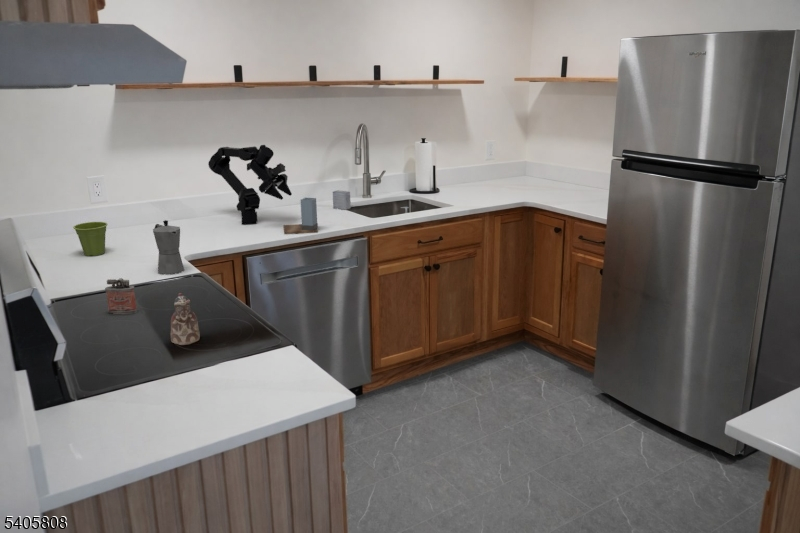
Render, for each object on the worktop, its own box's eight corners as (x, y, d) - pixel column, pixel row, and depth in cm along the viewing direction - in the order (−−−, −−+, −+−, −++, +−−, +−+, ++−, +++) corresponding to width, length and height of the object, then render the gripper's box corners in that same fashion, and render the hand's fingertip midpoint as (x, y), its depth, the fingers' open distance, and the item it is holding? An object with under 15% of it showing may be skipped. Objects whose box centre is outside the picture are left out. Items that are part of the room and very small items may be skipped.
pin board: (284, 234, 278) (283, 222, 276) (283, 227, 290) (282, 216, 289) (317, 232, 280) (317, 221, 279) (315, 225, 293) (314, 214, 291)
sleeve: (301, 229, 281) (299, 199, 277) (306, 226, 286) (305, 197, 282) (313, 230, 280) (311, 200, 276) (318, 227, 285) (316, 198, 281)
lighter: (139, 309, 192) (134, 277, 189) (135, 313, 189) (130, 280, 186) (111, 310, 192) (106, 277, 189) (106, 314, 188) (101, 281, 186)
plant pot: (70, 257, 247) (65, 227, 244) (93, 248, 258) (88, 220, 254) (96, 259, 244) (92, 229, 240) (118, 250, 254) (114, 222, 251)
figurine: (170, 346, 166) (165, 301, 163) (171, 335, 173) (166, 292, 169) (199, 342, 168) (195, 298, 165) (200, 332, 175) (195, 290, 171)
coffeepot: (192, 272, 227) (187, 221, 222) (166, 277, 221) (160, 225, 216) (172, 263, 238) (167, 214, 233) (147, 268, 232) (141, 218, 226)
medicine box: (351, 208, 328) (350, 191, 325) (345, 210, 324) (345, 192, 322) (338, 207, 332) (337, 190, 329) (333, 208, 328) (332, 191, 326)
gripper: (263, 161, 274) (289, 188, 275) (282, 155, 291) (306, 180, 292) (247, 179, 278) (273, 205, 279) (267, 172, 296) (291, 197, 296)
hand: (286, 196), depth 286 cm, fingers open, 9 cm apart
